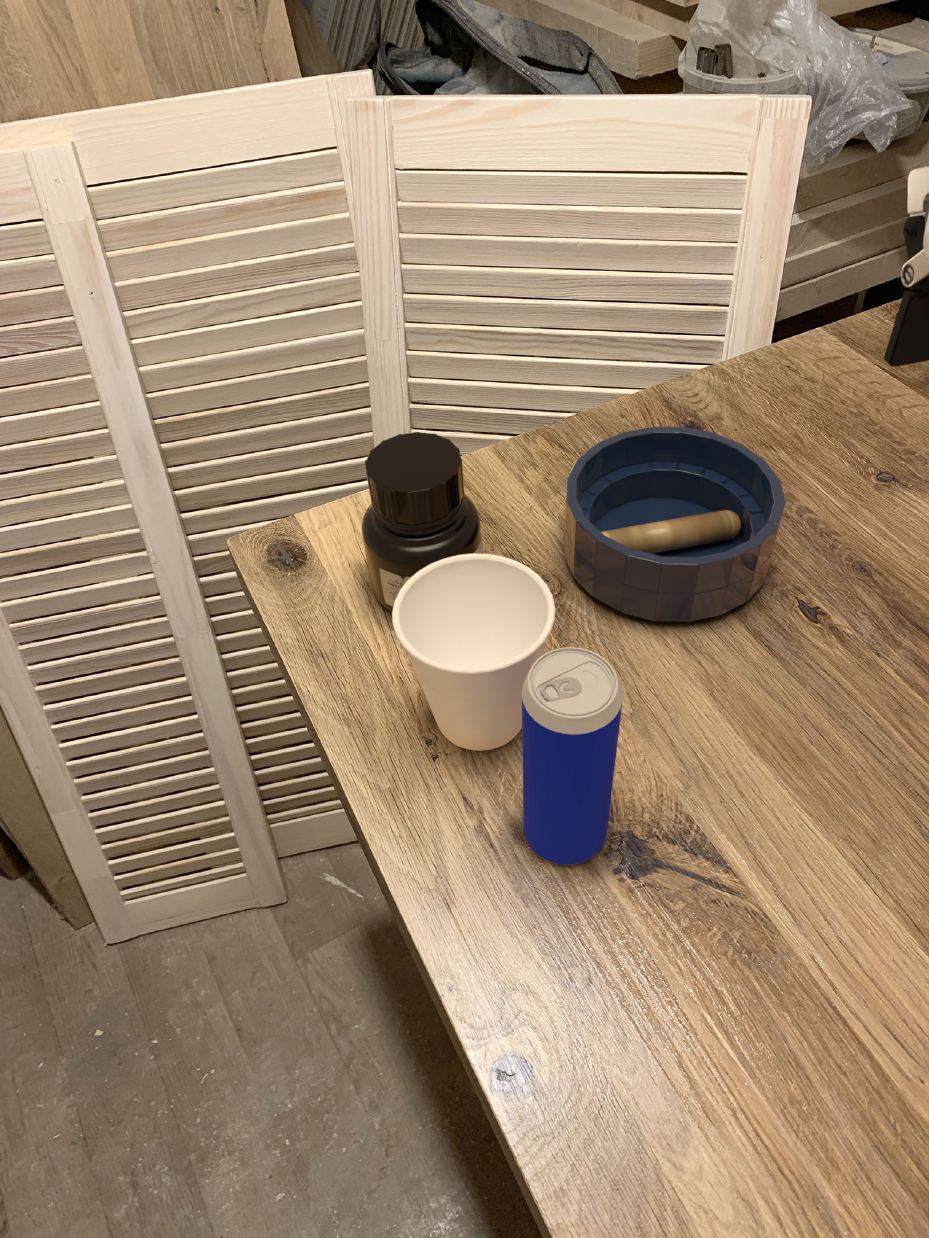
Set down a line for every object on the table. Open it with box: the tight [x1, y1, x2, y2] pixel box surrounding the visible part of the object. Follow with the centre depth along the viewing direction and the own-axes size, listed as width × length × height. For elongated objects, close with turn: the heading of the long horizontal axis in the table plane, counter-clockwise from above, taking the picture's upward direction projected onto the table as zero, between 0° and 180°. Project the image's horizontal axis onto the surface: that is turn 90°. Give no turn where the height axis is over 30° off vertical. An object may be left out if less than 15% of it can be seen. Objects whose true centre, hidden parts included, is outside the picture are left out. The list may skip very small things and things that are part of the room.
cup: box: [391, 553, 556, 752], centre depth 60 cm, size 10×10×11 cm
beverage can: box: [521, 646, 624, 866], centre depth 52 cm, size 5×5×15 cm
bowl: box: [563, 426, 786, 623], centre depth 72 cm, size 16×16×6 cm
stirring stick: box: [601, 510, 741, 554], centre depth 73 cm, size 12×2×2 cm, turn 103°
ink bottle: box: [361, 431, 484, 613], centre depth 69 cm, size 10×9×12 cm
